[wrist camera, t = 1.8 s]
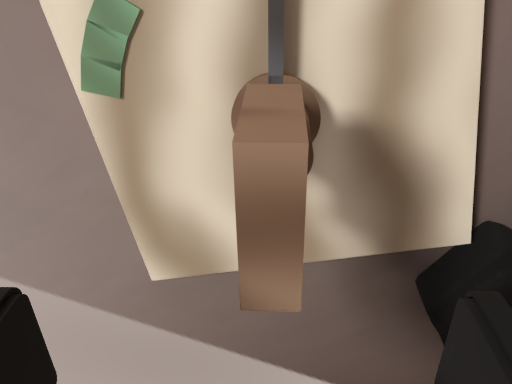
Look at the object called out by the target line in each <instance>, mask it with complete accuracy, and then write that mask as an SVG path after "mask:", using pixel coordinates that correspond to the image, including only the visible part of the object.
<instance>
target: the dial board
mask: <svg viewBox="0 0 512 384" xmlns="http://www.w3.org/2000/svg"><path fill="white" fill-rule="evenodd" d="M39 1H40V4H41V6H42V9H43V11H44V14H45V16H46V19H47V21H48V24H49V26H50V29H51V31H52V34H53V36H54V39H55V41H56V44H57V46H58V49H59V51H60V53H61V56H62V58H63V61H64V63H65V66H66V68H67V71H68V73H69V76H70V78H71V81H72V83H73V86H74V88H75V91H76V93H77V96H78V98H79V101H80V103H81V106H82V108H83V111H84V113H85V116H86V118H87V121H88V123H89V126H90V128H91V130H92V133H93V135H94V138H95V140H96V143H97V145H98V148H99V150H100V153H101V155H102V158H103V160H104V163H105V165H106V168H107V170H108V173H109V175H110V178H111V180H112V183H113V185H114V188H115V190H116V193H117V195H118V198H119V200H120V203H121V205H122V207H123V210H124V212H125V215H126V217H127V220H128V222H129V225H130V227H131V230H132V232H133V235H134V237H135V240H136V242H137V245H138V247H139V250H140V252H141V255H142V257H143V260H144V262H145V265H146V267H147V270H148V272H149V275H150V277H151V280H152V281H153V280H162V279H170V278H179V277H188V276H196V275H205V274H213V273H222V272H231V271H238V253H237V233H236V212H235V192H234V171H233V151H232V141H233V137H234V132H233V128H232V123H231V113H232V108H233V104H234V101H235V99H236V96H237V94H238V93H239V91H240V90H241V89H242V87H243V86H244V85H245V84H246V83H247V82H249V81H250V80H251V79H253V78H255V77H257V76H259V75H262V74H265V73H268V0H39ZM484 4H485V0H284V66H283V73H288V74H291V75H294V76H296V77H298V78H299V79H301V80H302V81H304V82H305V83H306V84H307V85H308V86H309V87H310V88H311V89H312V91H313V92H314V94H315V96H316V98H317V100H318V104H319V108H320V114H321V122H320V128H319V131H318V134H317V136H316V138H315V139H314V141H313V142H312V146H313V153H314V159H313V164H312V168H311V170H310V172H309V174H308V175H307V192H306V213H305V235H304V257H303V263H308V262H316V261H325V260H334V259H342V258H351V257H359V256H368V255H376V254H385V253H394V252H402V251H411V250H419V249H428V248H437V247H445V246H454V245H462V244H471V230H472V213H473V195H474V178H475V161H476V143H477V126H478V108H479V91H480V74H481V56H482V39H483V21H484Z"/></svg>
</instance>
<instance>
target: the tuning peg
mask: <svg viewBox="0 0 512 384" xmlns="http://www.w3.org/2000/svg"><path fill="white" fill-rule="evenodd" d="M283 66H284V0H268V73H265V74H262V75H259V76H257V77H255V78H253V79H251V80H250V81H249V82H247V83H246V84H245V85H244V86H243V87H242V89H241V90H240V91H239V93H238V94H237V96H236V99H235V101H234V104H233V108H232V113H231V123H232V128H233V132H234V137H233V141H232V151H233V171H234V192H235V212H236V233H237V253H238V274H239V294H240V310H250V311H287V312H301V301H302V279H303V257H304V235H305V213H306V192H307V175H308V174H309V172H310V170H311V168H312V164H313V159H314V153H313V146H312V142H313V141H314V139H315V138H316V136H317V134H318V131H319V128H320V122H321V114H320V108H319V104H318V100H317V98H316V96H315V94H314V92H313V91H312V89H311V88H310V87H309V86H308V85H307V84H306V83H305V82H304V81H302V80H301V79H299V78H298V77H296V76H294V75H291V74H288V73H283Z"/></svg>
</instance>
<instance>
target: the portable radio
mask: <svg viewBox="0 0 512 384" xmlns="http://www.w3.org/2000/svg"><path fill="white" fill-rule="evenodd" d="M416 285H417V288H418V291H419V294H420V296H421V299H422V301H423V304H424V306H425V309H426V311H427V314H428V316H429V318H430V320H431V322H432V324H433V325H434V327H435V328H436V329H437V331H438V332H439V334H440V337H441V339H442V342H443V344H444V346H445V343H446V339H447V336H448V332H449V328H450V325H451V321H452V318H453V314H454V311H455V307H456V304H457V301H458V299H459V298H465V296H466V294H467V293H468V292H469V291H497V292H499V293H501V294H502V296H503V297H504V298H505V300H506V301H507V303H508V304H509V306H510V307H511V309H512V229H510V228H508V227H506V226H504V225H502V224H498V223H494V222H490V221H486V222H483V223H482V224H480V225H479V226H478V227H477V228H476V229H474V230H473V231H472V232H471V244H462V245H455V246H454V247H453V248H452V249H450V250H449V251H448V252H447V253H446V254H444V255H443V256H442V257H441V258H440V259H438V260H437V261H436V262H435V263H434V264H432V265H431V266H430V267H429V268H428V269H426V270H425V271H424V272H423V273H422V274H420V275H419V276H418V278H417V279H416Z"/></svg>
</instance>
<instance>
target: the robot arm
mask: <svg viewBox="0 0 512 384" xmlns="http://www.w3.org/2000/svg"><path fill="white" fill-rule="evenodd" d="M56 382H57V374H56V371H55V368H54V366H53V363H52V360H51V357H50V355H49V352H48V350H47V347H46V344H45V341H44V338H43V336H42V333H41V330H40V327H39V325H38V322H37V319H36V317H35V314H34V311H33V308H32V306H31V303H30V301H29V298H28V296H27V295H25V294H22V292H21V291H20V289H18V288H15V287H0V384H56ZM435 384H512V309H511V307H510V306H509V304H508V303H507V301H506V300H505V298H504V297H503V296H502V294H501V293H499V292H497V291H469V292H468V293H467V294H466V296H465V298H459V299H458V301H457V304H456V307H455V311H454V314H453V318H452V321H451V325H450V328H449V332H448V336H447V339H446V343H445V346H444V350H443V353H442V357H441V360H440V364H439V367H438V371H437V374H436V378H435Z"/></svg>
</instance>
